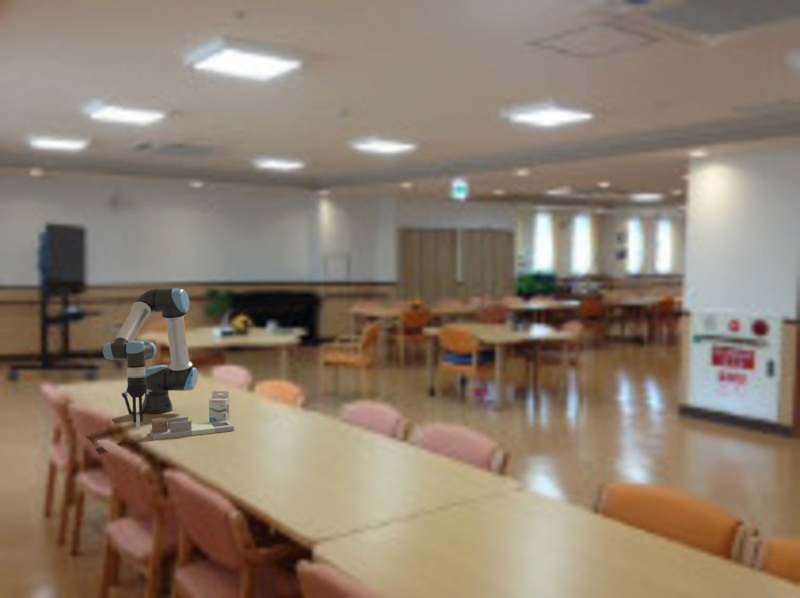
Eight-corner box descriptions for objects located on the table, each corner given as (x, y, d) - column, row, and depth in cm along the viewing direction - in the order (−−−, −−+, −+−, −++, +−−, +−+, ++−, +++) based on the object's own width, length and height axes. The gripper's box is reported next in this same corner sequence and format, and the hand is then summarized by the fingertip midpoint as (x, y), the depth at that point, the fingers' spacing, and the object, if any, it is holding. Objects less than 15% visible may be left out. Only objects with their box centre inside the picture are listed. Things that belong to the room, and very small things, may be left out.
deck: (150, 432, 326) (149, 419, 326) (228, 424, 341) (227, 411, 340) (153, 439, 314) (152, 426, 314) (233, 430, 329) (233, 417, 329)
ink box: (208, 423, 343) (208, 392, 342) (212, 421, 348) (211, 390, 347) (226, 423, 342) (225, 393, 341) (229, 421, 347) (229, 391, 346)
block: (152, 430, 323) (151, 419, 323) (166, 428, 326) (165, 417, 325) (153, 433, 318) (153, 421, 317) (167, 431, 320) (167, 420, 320)
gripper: (121, 378, 310) (122, 433, 312) (153, 376, 316) (154, 429, 317) (120, 376, 317) (121, 429, 318) (151, 373, 322) (152, 426, 324)
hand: (138, 429), depth 318 cm, fingers closed
